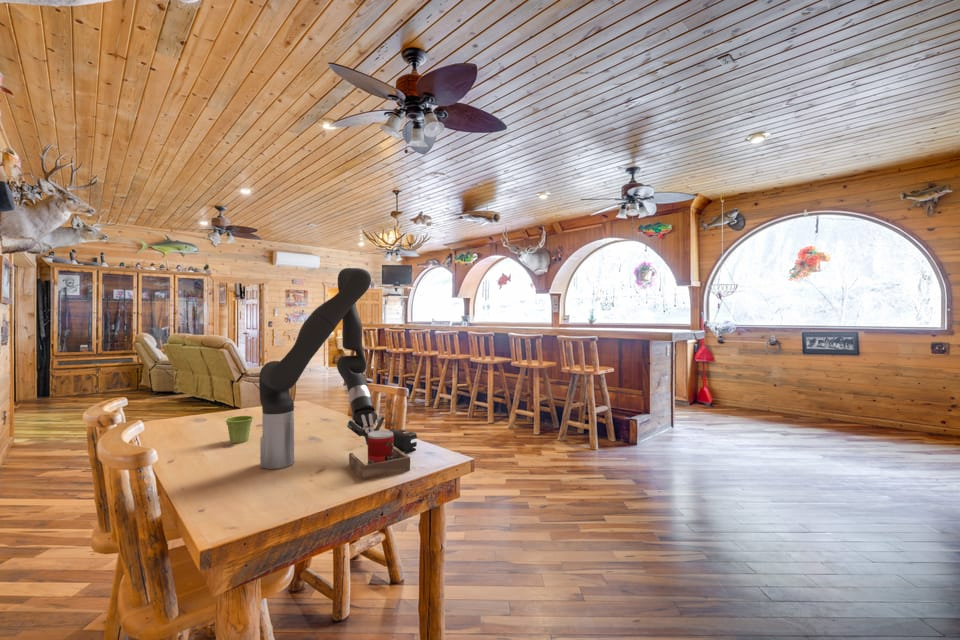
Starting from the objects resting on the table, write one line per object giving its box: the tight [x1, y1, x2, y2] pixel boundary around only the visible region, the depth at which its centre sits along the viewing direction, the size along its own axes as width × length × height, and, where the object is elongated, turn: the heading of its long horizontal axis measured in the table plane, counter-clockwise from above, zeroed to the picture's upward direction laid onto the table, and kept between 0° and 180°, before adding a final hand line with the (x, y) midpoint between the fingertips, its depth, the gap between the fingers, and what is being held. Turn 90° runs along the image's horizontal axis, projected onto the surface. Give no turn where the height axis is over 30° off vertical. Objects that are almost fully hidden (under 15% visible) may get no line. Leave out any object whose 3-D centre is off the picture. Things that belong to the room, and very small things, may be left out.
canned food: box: [367, 429, 393, 464], centre depth 136 cm, size 8×8×11 cm
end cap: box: [388, 429, 418, 454], centre depth 153 cm, size 10×7×7 cm
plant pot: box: [224, 415, 254, 444], centre depth 163 cm, size 9×9×9 cm
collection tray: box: [348, 446, 411, 481], centre depth 136 cm, size 14×15×4 cm
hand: (372, 445), depth 141 cm, fingers closed
